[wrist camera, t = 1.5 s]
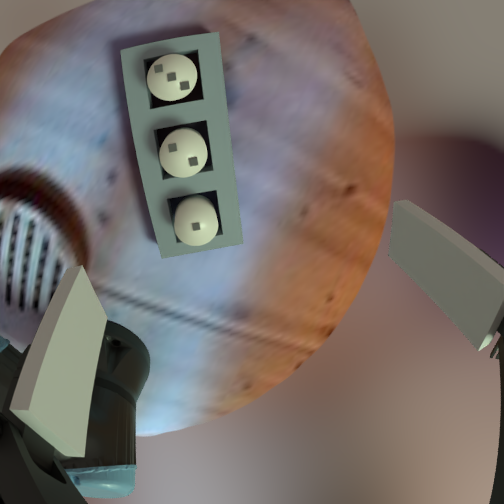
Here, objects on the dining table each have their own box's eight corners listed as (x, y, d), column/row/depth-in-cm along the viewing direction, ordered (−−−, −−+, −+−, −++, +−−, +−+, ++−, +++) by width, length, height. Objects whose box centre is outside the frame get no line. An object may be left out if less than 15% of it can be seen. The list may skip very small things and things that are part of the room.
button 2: (166, 172, 28) (163, 182, 25) (159, 131, 26) (155, 136, 23) (208, 164, 29) (210, 173, 26) (202, 123, 26) (204, 127, 24)
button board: (163, 247, 34) (161, 258, 32) (125, 53, 22) (120, 50, 20) (239, 233, 35) (243, 243, 33) (216, 36, 23) (218, 32, 21)
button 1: (179, 234, 32) (179, 250, 29) (171, 198, 30) (170, 210, 27) (218, 227, 32) (221, 242, 29) (212, 191, 30) (215, 202, 27)
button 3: (154, 104, 25) (150, 105, 22) (149, 63, 22) (144, 59, 20) (198, 96, 25) (199, 96, 22) (193, 55, 23) (194, 49, 20)
